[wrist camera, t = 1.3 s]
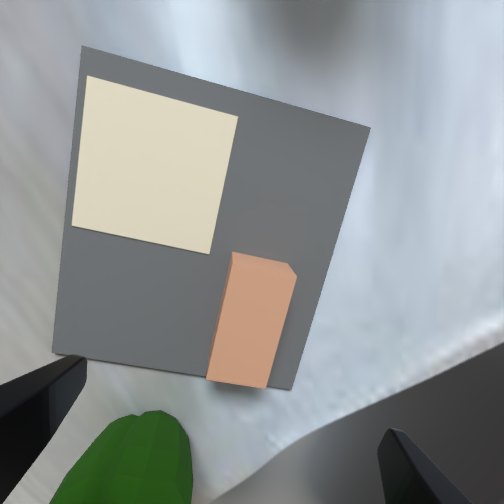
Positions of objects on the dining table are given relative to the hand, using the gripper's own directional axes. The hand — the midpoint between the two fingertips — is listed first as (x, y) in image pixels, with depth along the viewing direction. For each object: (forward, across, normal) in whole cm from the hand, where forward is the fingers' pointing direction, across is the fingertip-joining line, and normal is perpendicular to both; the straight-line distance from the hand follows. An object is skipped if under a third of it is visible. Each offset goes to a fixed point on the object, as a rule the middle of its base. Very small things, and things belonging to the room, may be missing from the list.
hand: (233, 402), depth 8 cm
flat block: (+12, 0, +4) cm, 13 cm away
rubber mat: (+12, +4, 0) cm, 13 cm away
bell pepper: (+11, +6, +16) cm, 20 cm away
